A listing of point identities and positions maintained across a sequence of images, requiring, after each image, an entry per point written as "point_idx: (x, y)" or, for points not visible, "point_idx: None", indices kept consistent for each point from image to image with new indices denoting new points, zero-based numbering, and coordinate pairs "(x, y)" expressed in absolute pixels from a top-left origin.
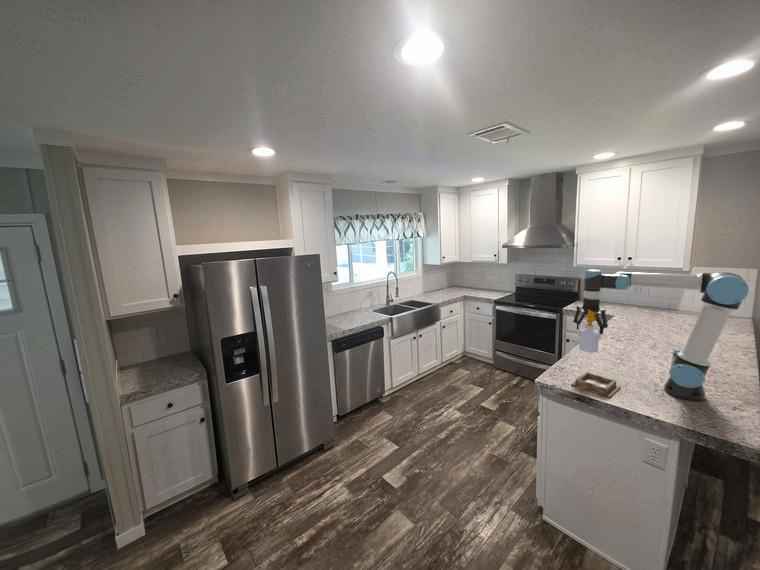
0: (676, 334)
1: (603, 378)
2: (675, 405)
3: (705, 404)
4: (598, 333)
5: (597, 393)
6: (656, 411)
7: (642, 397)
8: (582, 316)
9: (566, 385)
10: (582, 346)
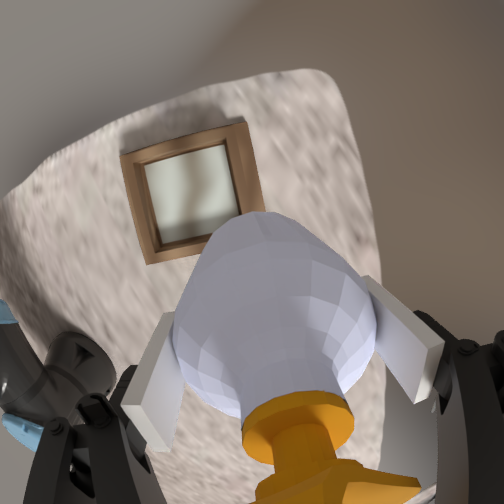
0: None
1: (187, 245)
2: (47, 284)
3: (44, 341)
4: (152, 355)
5: (154, 145)
6: (41, 209)
7: (89, 258)
8: (490, 484)
9: (255, 108)
10: (275, 217)
